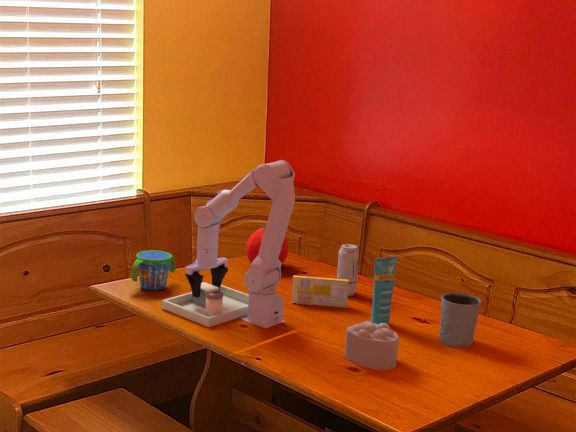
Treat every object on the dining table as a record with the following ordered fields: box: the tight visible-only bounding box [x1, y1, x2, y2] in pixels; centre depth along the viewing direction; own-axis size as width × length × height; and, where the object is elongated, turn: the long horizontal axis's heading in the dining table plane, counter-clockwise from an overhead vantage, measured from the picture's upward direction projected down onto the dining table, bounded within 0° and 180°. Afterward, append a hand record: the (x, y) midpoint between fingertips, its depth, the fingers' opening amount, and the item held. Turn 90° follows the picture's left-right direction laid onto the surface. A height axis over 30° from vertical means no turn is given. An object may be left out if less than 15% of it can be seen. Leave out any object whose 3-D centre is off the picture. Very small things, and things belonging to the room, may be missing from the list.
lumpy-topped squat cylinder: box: [344, 320, 400, 370], centre depth 205 cm, size 10×13×9 cm
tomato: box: [245, 224, 289, 264], centre depth 273 cm, size 16×14×14 cm
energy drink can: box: [336, 243, 360, 297], centre depth 252 cm, size 6×6×15 cm
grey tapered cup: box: [439, 292, 482, 349], centre depth 219 cm, size 10×10×12 cm
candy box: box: [291, 274, 349, 309], centre depth 242 cm, size 16×2×8 cm, turn 84°
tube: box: [370, 255, 399, 326], centre depth 228 cm, size 7×5×19 cm, turn 123°
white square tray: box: [161, 284, 249, 328], centre depth 232 cm, size 19×22×3 cm
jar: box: [205, 291, 223, 317], centre depth 225 cm, size 5×5×7 cm
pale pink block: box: [192, 281, 219, 308], centre depth 236 cm, size 6×5×5 cm
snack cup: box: [130, 249, 177, 292], centre depth 248 cm, size 16×10×10 cm
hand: (205, 293), depth 235 cm, fingers open, 7 cm apart
